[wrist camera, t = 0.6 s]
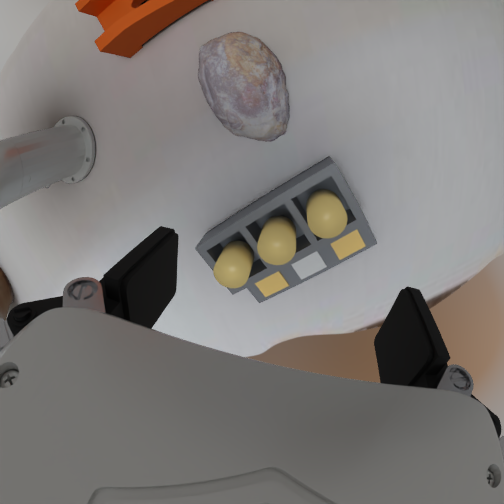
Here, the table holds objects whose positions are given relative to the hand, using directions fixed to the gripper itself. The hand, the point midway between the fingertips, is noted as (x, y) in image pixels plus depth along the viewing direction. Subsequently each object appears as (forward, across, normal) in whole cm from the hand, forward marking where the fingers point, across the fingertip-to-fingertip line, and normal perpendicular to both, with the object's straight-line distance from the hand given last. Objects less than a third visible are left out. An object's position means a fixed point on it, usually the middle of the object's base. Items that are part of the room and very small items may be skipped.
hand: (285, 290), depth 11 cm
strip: (+30, -4, +14) cm, 34 cm away
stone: (+30, +10, -10) cm, 33 cm away
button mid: (+26, +1, +9) cm, 27 cm away
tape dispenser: (+30, +26, -24) cm, 46 cm away
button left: (+26, +6, +14) cm, 30 cm away
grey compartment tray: (+30, +1, +9) cm, 31 cm away
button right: (+26, -4, +4) cm, 27 cm away
